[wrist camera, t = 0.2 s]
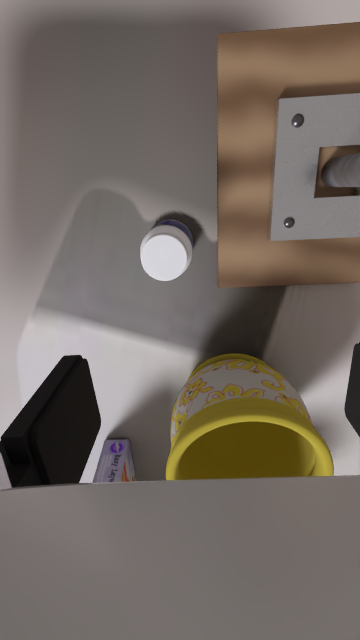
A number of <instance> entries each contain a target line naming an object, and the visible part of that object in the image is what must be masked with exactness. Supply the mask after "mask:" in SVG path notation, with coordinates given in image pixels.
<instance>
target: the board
mask: <svg viewBox="0 0 360 640" xmlns="http://www.w3.org/2000/svg"><path fill="white" fill-rule="evenodd" d="M354 93H360V22H354V23H343V24H330V25H318V26H306V27H294V28H282V29H269V30H257V31H245V32H233V33H222V34H218V36H217V175H218V176H217V181H218V182H217V183H218V184H217V185H218V186H217V189H218V288H229V287H255V286H281V285H306V284H332V283H358V282H360V237H347V238H326V239H304V240H283V241H270V240H268V233H269V216H270V199H271V183H272V166H273V149H274V133H275V116H276V102H277V101H278V100H279V99H284V98H298V97H312V96H326V95H340V94H354ZM356 187H360V146H347V147H330V148H319V156H318V165H317V174H316V183H315V192H314V198H315V197H334V196H353V195H355V190H356Z"/></svg>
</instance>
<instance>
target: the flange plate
mask: <svg viewBox="0 0 360 640" xmlns="http://www.w3.org/2000/svg"><path fill="white" fill-rule="evenodd" d="M347 146H360V93H354V94H340V95H326V96H312V97H298V98H284V99H279V100H278V101H277V102H276V116H275V133H274V149H273V166H272V183H271V199H270V216H269V233H268V240H270V241H283V240H304V239H326V238H347V237H360V187H356V190H355V195H353V196H334V197H315V198H314V192H315V183H316V174H317V165H318V156H319V148H330V147H347Z"/></svg>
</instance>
